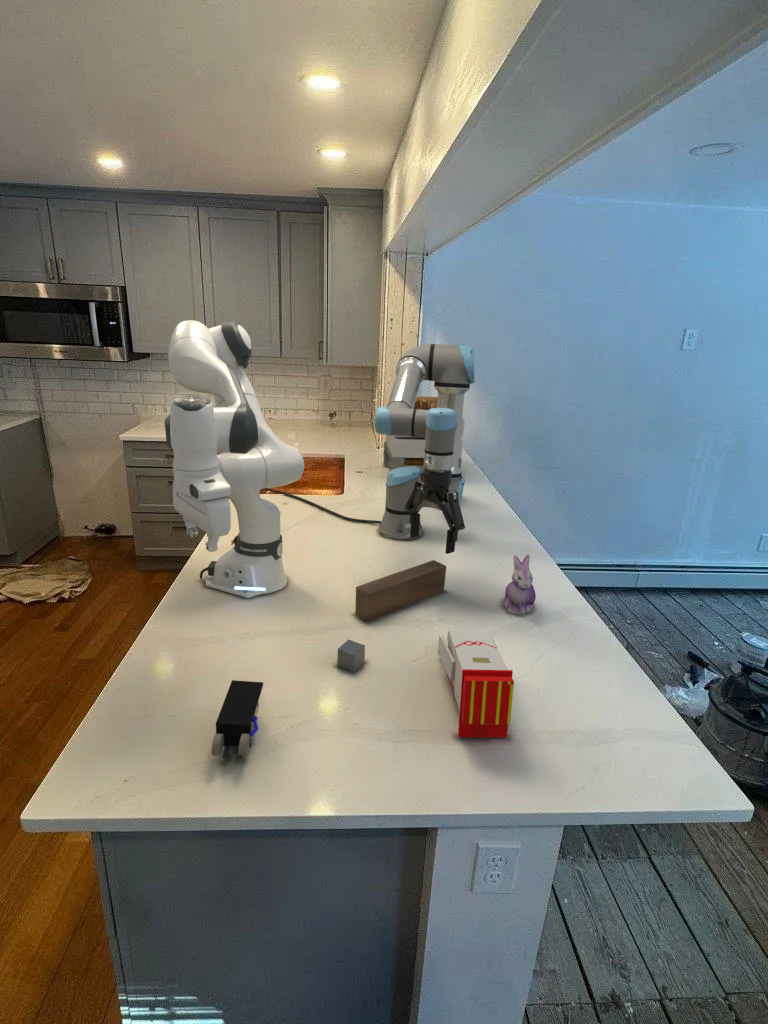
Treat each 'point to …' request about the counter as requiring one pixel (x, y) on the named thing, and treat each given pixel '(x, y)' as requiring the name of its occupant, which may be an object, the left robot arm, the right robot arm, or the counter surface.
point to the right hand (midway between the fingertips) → (431, 544)
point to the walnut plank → (399, 590)
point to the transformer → (411, 443)
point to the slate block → (351, 655)
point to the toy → (478, 682)
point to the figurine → (520, 588)
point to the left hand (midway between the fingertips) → (202, 543)
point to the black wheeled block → (237, 718)
